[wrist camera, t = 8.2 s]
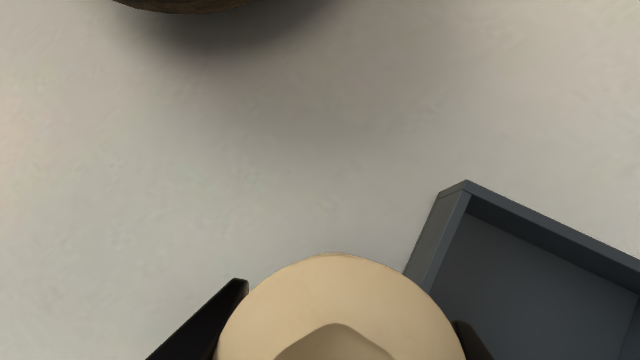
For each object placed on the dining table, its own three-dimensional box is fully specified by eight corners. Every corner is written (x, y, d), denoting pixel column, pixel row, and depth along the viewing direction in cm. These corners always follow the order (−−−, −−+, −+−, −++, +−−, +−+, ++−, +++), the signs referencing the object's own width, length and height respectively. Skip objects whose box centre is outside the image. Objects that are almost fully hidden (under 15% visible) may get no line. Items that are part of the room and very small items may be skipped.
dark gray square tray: (569, 516, 19) (644, 601, 14) (348, 393, 20) (353, 434, 16) (645, 289, 21) (730, 301, 16) (439, 192, 22) (466, 178, 18)
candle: (420, 304, 15) (574, 400, 6) (345, 410, 15) (374, 732, 5) (324, 227, 16) (313, 196, 6) (248, 324, 16) (106, 454, 6)
